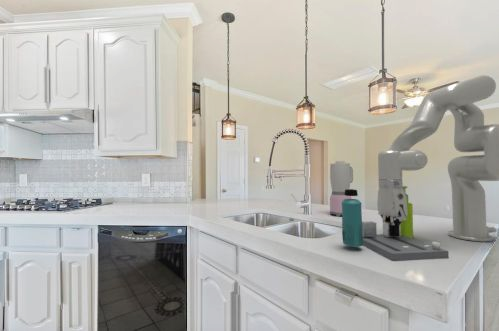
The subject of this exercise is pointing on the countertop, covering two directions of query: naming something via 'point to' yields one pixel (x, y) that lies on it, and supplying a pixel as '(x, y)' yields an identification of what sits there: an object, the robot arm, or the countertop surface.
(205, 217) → the countertop surface
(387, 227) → the fader tab
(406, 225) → the soap dispenser
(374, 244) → the console
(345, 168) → the blender
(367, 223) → the fader tab
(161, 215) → the countertop surface
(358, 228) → the beverage bottle
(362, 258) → the countertop surface
